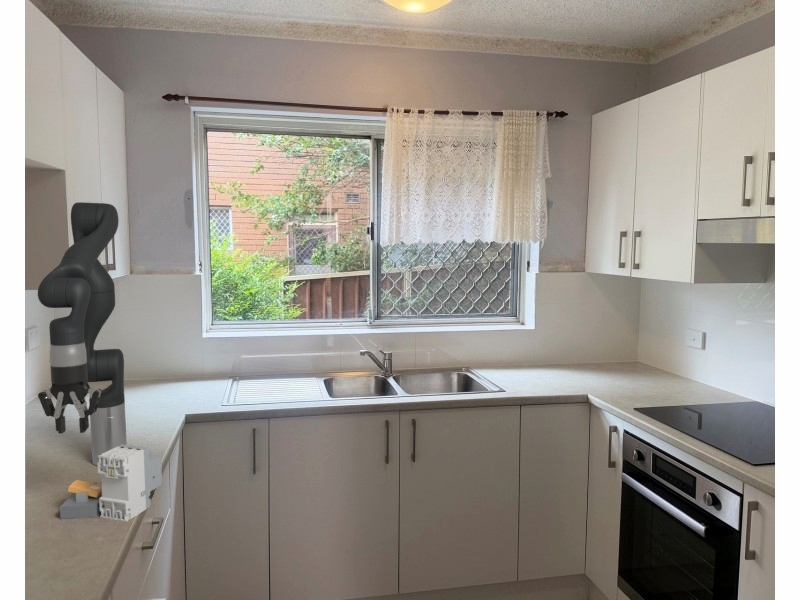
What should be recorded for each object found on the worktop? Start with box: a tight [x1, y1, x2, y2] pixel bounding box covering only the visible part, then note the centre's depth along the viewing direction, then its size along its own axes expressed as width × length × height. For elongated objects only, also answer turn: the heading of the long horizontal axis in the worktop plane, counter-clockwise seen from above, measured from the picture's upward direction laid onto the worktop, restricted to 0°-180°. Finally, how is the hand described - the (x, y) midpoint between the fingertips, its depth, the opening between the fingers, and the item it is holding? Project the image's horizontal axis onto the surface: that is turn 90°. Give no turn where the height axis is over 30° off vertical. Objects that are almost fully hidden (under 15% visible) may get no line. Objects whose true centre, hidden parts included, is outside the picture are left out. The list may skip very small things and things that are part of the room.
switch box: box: [59, 482, 104, 520], centre depth 139 cm, size 10×8×5 cm
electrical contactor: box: [96, 444, 163, 523], centre depth 140 cm, size 8×14×15 cm, turn 164°
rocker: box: [67, 479, 102, 497], centre depth 138 cm, size 4×7×2 cm, turn 97°
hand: (72, 431), depth 137 cm, fingers open, 4 cm apart
